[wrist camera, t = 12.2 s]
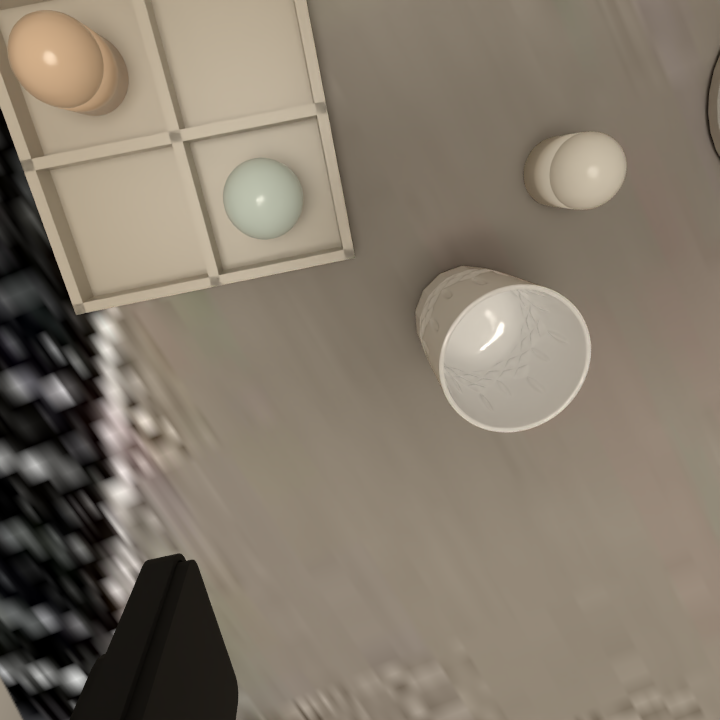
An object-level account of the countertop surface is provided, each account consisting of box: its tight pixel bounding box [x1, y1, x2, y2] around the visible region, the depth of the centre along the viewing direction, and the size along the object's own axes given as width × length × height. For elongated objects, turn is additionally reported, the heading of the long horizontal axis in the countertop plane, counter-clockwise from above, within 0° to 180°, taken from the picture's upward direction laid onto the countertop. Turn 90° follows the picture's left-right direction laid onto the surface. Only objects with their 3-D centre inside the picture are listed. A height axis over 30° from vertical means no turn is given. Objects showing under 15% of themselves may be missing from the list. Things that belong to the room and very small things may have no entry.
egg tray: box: [0, 0, 355, 315], centre depth 32 cm, size 17×17×2 cm
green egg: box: [223, 158, 303, 240], centre depth 31 cm, size 4×4×6 cm
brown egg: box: [7, 10, 129, 116], centre depth 28 cm, size 4×4×6 cm
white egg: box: [524, 131, 627, 210], centre depth 33 cm, size 4×4×6 cm
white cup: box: [415, 266, 591, 432], centre depth 33 cm, size 8×8×10 cm
